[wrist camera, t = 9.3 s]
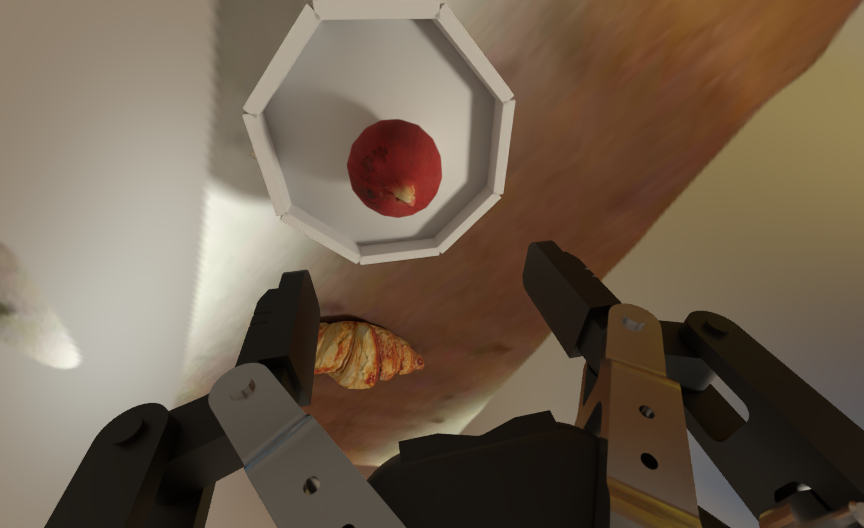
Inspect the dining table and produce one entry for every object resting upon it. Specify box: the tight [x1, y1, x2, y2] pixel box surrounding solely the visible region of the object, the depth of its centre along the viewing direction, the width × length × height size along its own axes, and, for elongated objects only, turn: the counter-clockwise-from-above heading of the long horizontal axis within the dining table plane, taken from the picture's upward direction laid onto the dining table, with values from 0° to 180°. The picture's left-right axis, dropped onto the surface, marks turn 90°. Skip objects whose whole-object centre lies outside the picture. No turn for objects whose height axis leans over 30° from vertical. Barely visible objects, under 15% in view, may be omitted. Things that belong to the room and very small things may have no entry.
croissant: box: [314, 321, 424, 389], centre depth 43 cm, size 21×10×8 cm, turn 63°
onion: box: [347, 119, 442, 218], centre depth 20 cm, size 6×6×8 cm
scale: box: [242, 0, 515, 265], centre depth 25 cm, size 17×17×9 cm
